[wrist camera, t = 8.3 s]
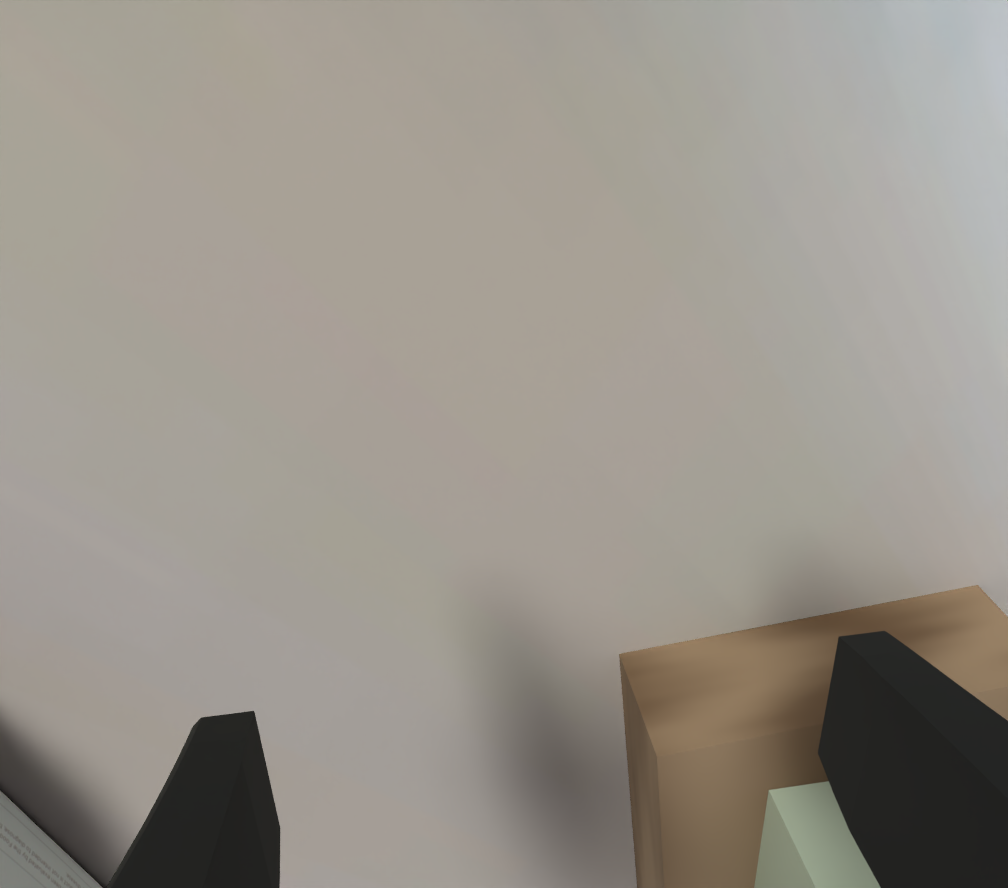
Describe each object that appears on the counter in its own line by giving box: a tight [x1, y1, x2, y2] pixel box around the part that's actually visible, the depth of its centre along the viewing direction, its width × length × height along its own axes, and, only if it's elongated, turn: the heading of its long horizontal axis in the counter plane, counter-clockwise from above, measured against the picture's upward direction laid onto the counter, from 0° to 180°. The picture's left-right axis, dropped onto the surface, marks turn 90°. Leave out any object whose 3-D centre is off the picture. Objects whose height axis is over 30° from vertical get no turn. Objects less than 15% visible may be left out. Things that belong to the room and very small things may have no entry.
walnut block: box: [619, 585, 1008, 888], centre depth 27 cm, size 10×10×4 cm
